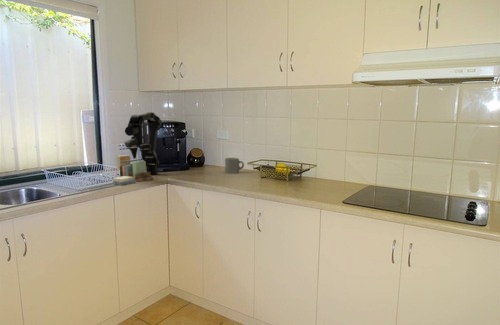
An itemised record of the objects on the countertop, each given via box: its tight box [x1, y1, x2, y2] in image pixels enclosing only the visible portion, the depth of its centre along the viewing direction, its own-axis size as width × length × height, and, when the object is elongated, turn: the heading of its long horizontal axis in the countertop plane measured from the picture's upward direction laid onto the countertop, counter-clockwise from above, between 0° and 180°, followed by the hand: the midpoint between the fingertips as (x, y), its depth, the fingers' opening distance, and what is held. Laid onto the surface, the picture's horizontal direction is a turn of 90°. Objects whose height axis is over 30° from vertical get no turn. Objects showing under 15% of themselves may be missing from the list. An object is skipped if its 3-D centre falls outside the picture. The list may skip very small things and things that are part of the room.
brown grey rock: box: [119, 164, 154, 183], centre depth 222 cm, size 11×20×8 cm, turn 52°
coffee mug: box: [224, 157, 245, 175], centre depth 246 cm, size 13×10×10 cm
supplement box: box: [115, 154, 131, 172], centre depth 237 cm, size 8×5×13 cm, turn 143°
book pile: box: [112, 176, 136, 186], centre depth 208 cm, size 11×9×3 cm
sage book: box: [131, 160, 147, 178], centre depth 219 cm, size 7×4×10 cm, turn 142°
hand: (138, 159), depth 218 cm, fingers open, 9 cm apart
